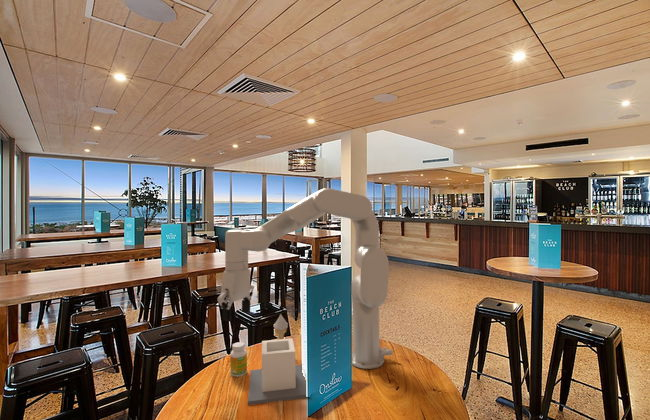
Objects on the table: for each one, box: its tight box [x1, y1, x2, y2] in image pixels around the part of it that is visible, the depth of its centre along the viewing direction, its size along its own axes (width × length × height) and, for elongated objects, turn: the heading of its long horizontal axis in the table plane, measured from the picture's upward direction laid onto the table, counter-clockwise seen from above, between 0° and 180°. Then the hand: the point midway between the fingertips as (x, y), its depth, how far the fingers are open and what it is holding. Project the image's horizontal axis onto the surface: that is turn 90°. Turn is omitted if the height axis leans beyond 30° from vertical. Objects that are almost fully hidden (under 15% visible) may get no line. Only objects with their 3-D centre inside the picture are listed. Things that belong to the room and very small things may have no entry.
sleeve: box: [261, 337, 296, 392], centre depth 101 cm, size 10×10×11 cm
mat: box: [247, 364, 307, 406], centre depth 101 cm, size 18×18×1 cm
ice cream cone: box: [273, 313, 289, 340], centre depth 124 cm, size 6×6×15 cm
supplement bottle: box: [230, 341, 248, 377], centre depth 109 cm, size 5×5×10 cm
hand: (236, 316), depth 109 cm, fingers open, 9 cm apart
